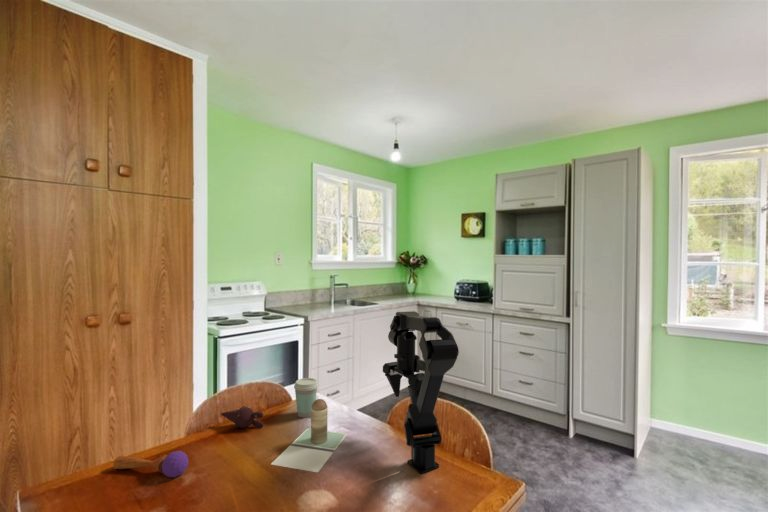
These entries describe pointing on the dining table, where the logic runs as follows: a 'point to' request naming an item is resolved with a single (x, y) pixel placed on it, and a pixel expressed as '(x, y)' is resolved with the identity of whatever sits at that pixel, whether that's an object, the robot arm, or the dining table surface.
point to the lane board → (309, 452)
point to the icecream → (244, 417)
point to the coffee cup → (305, 395)
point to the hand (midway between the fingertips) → (405, 401)
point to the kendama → (157, 463)
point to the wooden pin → (319, 421)
